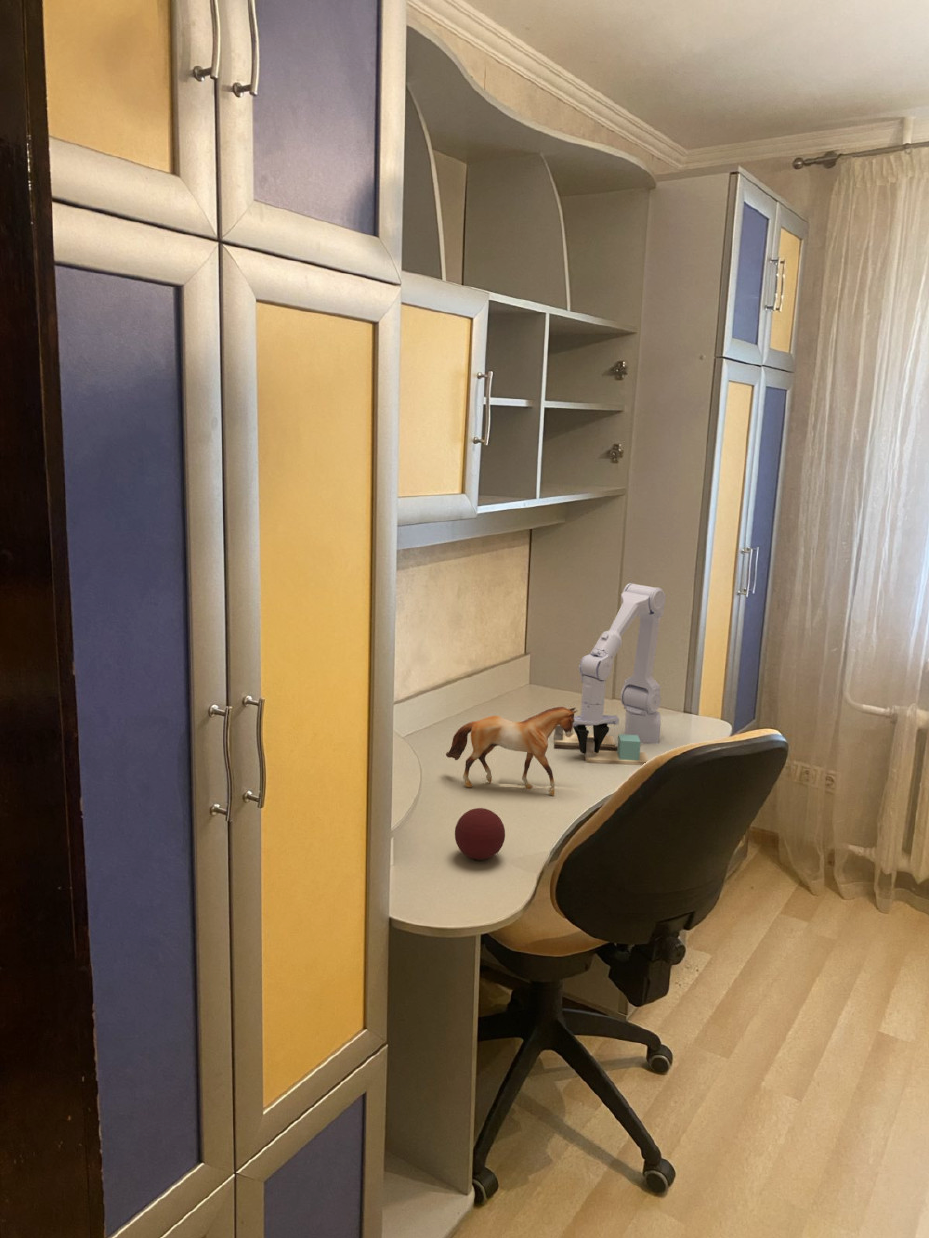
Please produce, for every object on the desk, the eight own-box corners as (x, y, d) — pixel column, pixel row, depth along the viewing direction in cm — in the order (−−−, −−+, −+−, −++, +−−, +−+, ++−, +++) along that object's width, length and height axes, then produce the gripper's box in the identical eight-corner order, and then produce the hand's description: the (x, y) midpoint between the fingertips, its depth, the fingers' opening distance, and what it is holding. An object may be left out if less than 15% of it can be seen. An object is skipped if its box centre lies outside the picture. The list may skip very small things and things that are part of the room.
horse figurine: (573, 788, 219) (578, 706, 215) (570, 801, 212) (575, 716, 207) (446, 774, 225) (448, 693, 221) (438, 786, 218) (441, 703, 213)
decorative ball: (497, 872, 177) (499, 824, 175) (447, 864, 180) (449, 816, 177) (509, 850, 186) (511, 804, 184) (461, 842, 189) (463, 797, 187)
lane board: (613, 740, 253) (613, 733, 253) (623, 770, 232) (624, 762, 231) (551, 737, 254) (551, 730, 253) (556, 767, 232) (556, 759, 232)
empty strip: (612, 738, 252) (613, 721, 251) (615, 747, 245) (616, 730, 244) (553, 735, 253) (554, 719, 252) (555, 744, 246) (556, 727, 245)
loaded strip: (645, 755, 240) (646, 737, 239) (649, 765, 233) (650, 747, 232) (583, 752, 241) (584, 735, 240) (586, 762, 234) (587, 744, 233)
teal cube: (636, 753, 239) (637, 735, 238) (639, 760, 234) (640, 741, 233) (617, 752, 239) (618, 734, 238) (619, 759, 234) (620, 740, 233)
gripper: (612, 695, 240) (608, 744, 243) (560, 698, 236) (557, 748, 239) (624, 703, 233) (620, 754, 236) (570, 706, 229) (567, 758, 232)
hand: (589, 752), depth 237 cm, fingers closed on loaded strip, 3 cm apart
